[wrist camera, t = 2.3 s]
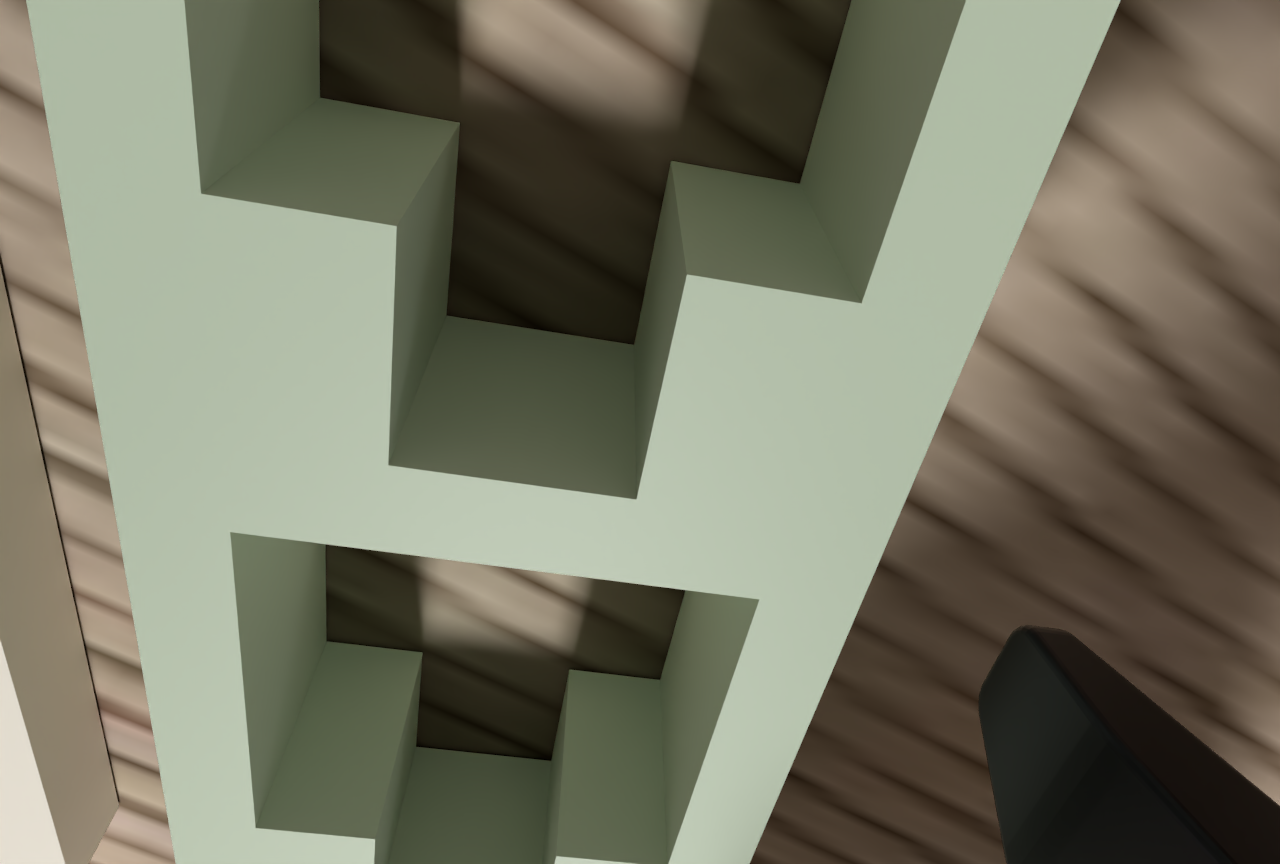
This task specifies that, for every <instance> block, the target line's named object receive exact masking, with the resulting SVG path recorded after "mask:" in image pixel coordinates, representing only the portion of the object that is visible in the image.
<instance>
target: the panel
mask: <svg viewBox="0 0 1280 864" xmlns="http://www.w3.org/2000/svg"><path fill="white" fill-rule="evenodd" d="M1120 1H1121V0H851V4H850V7H849V11H848V14H847V18H846V22H845V25H844V29H843V32H842V36H841V39H840V43H839V46H838V50H837V53H836V57H835V61H834V64H833V68H832V71H831V75H830V78H829V82H828V85H827V89H826V93H825V96H824V100H823V103H822V107H821V110H820V114H819V117H818V121H817V125H816V128H815V132H814V135H813V139H812V142H811V146H810V149H809V153H808V156H807V160H806V164H805V167H804V171H803V174H802V178H801V181H800V184H798V183H792V182H787V181H781V180H776V179H770V178H765V177H759V176H753V175H748V174H742V173H737V172H731V171H726V170H720V169H714V168H709V167H703V166H698V165H692V164H687V163H681V162H675V161H671V163H670V168H669V173H668V178H667V183H666V188H665V193H664V198H663V203H662V208H661V213H660V218H659V223H658V228H657V233H656V238H655V243H654V248H653V253H652V258H651V263H650V268H649V273H648V278H647V283H646V288H645V293H644V298H643V303H642V309H641V314H640V319H639V324H638V329H637V334H636V339H635V344H634V345H632V344H625V343H619V342H613V341H606V340H600V339H593V338H587V337H581V336H574V335H568V334H561V333H555V332H549V331H542V330H536V329H529V328H523V327H517V326H510V325H504V324H498V323H491V322H485V321H478V320H472V319H466V318H459V317H453V316H447V301H448V287H449V273H450V259H451V245H452V231H453V217H454V202H455V188H456V174H457V160H458V146H459V132H460V123H458V122H453V121H447V120H442V119H436V118H431V117H425V116H419V115H414V114H408V113H403V112H397V111H392V110H386V109H381V108H375V107H369V106H364V105H358V104H353V103H347V102H342V101H336V100H330V99H325V98H320V43H319V0H26V2H27V8H28V13H29V19H30V25H31V31H32V36H33V42H34V48H35V54H36V60H37V65H38V71H39V77H40V83H41V88H42V94H43V100H44V106H45V111H46V117H47V123H48V129H49V135H50V140H51V146H52V152H53V158H54V163H55V169H56V175H57V181H58V186H59V192H60V198H61V204H62V210H63V215H64V221H65V227H66V233H67V238H68V244H69V250H70V256H71V262H72V267H73V273H74V279H75V285H76V290H77V296H78V302H79V308H80V313H81V319H82V325H83V331H84V337H85V342H86V348H87V354H88V360H89V365H90V371H91V377H92V383H93V388H94V394H95V400H96V406H97V412H98V417H99V423H100V429H101V435H102V440H103V446H104V452H105V458H106V464H107V469H108V475H109V481H110V487H111V492H112V498H113V504H114V510H115V515H116V521H117V527H118V533H119V539H120V544H121V550H122V556H123V562H124V567H125V573H126V579H127V585H128V591H129V596H130V602H131V608H132V614H133V619H134V625H135V631H136V637H137V642H138V648H139V654H140V660H141V666H142V671H143V677H144V683H145V689H146V694H147V700H148V706H149V712H150V717H151V723H152V729H153V735H154V741H155V746H156V752H157V758H158V764H159V769H160V775H161V781H162V787H163V793H164V798H165V804H166V810H167V816H168V821H169V827H170V833H171V839H172V844H173V850H174V856H175V862H176V864H750V861H751V859H752V857H753V854H754V852H755V850H756V847H757V845H758V843H759V840H760V838H761V836H762V833H763V831H764V829H765V826H766V824H767V822H768V819H769V817H770V815H771V812H772V810H773V808H774V805H775V803H776V801H777V798H778V796H779V794H780V791H781V789H782V787H783V785H784V782H785V780H786V778H787V775H788V773H789V771H790V768H791V766H792V764H793V761H794V759H795V757H796V754H797V752H798V750H799V747H800V745H801V743H802V740H803V738H804V736H805V733H806V731H807V729H808V726H809V724H810V722H811V719H812V717H813V715H814V712H815V710H816V708H817V705H818V703H819V701H820V698H821V696H822V694H823V691H824V689H825V687H826V684H827V682H828V680H829V678H830V675H831V673H832V671H833V668H834V666H835V664H836V661H837V659H838V657H839V654H840V652H841V650H842V647H843V645H844V643H845V640H846V638H847V636H848V633H849V631H850V629H851V626H852V624H853V622H854V619H855V617H856V615H857V612H858V610H859V608H860V605H861V603H862V601H863V598H864V596H865V594H866V591H867V589H868V587H869V584H870V582H871V580H872V577H873V575H874V573H875V571H876V568H877V566H878V564H879V561H880V559H881V557H882V554H883V552H884V550H885V547H886V545H887V543H888V540H889V538H890V536H891V533H892V531H893V529H894V526H895V524H896V522H897V519H898V517H899V515H900V512H901V510H902V508H903V505H904V503H905V501H906V498H907V496H908V494H909V491H910V489H911V487H912V484H913V482H914V480H915V477H916V475H917V473H918V470H919V468H920V466H921V464H922V461H923V459H924V457H925V454H926V452H927V450H928V447H929V445H930V443H931V440H932V438H933V436H934V433H935V431H936V429H937V426H938V424H939V422H940V419H941V417H942V415H943V412H944V410H945V408H946V405H947V403H948V401H949V398H950V396H951V394H952V391H953V389H954V387H955V384H956V382H957V380H958V377H959V375H960V373H961V370H962V368H963V366H964V363H965V361H966V359H967V357H968V354H969V352H970V350H971V347H972V345H973V343H974V340H975V338H976V336H977V333H978V331H979V329H980V326H981V324H982V322H983V319H984V317H985V315H986V312H987V310H988V308H989V305H990V303H991V301H992V298H993V296H994V294H995V291H996V289H997V287H998V284H999V282H1000V280H1001V277H1002V275H1003V273H1004V270H1005V268H1006V266H1007V263H1008V261H1009V259H1010V256H1011V254H1012V252H1013V250H1014V247H1015V245H1016V243H1017V240H1018V238H1019V236H1020V233H1021V231H1022V229H1023V226H1024V224H1025V222H1026V219H1027V217H1028V215H1029V212H1030V210H1031V208H1032V205H1033V203H1034V201H1035V198H1036V196H1037V194H1038V191H1039V189H1040V187H1041V184H1042V182H1043V180H1044V177H1045V175H1046V173H1047V170H1048V168H1049V166H1050V163H1051V161H1052V159H1053V156H1054V154H1055V152H1056V149H1057V147H1058V145H1059V143H1060V140H1061V138H1062V136H1063V133H1064V131H1065V129H1066V126H1067V124H1068V122H1069V119H1070V117H1071V115H1072V112H1073V110H1074V108H1075V105H1076V103H1077V101H1078V98H1079V96H1080V94H1081V91H1082V89H1083V87H1084V84H1085V82H1086V80H1087V77H1088V75H1089V73H1090V70H1091V68H1092V66H1093V63H1094V61H1095V59H1096V56H1097V54H1098V52H1099V49H1100V47H1101V45H1102V42H1103V40H1104V38H1105V36H1106V33H1107V31H1108V29H1109V26H1110V24H1111V22H1112V19H1113V17H1114V15H1115V12H1116V10H1117V8H1118V5H1119V3H1120ZM325 544H328V545H336V546H343V547H351V548H359V549H367V550H375V551H383V552H391V553H398V554H406V555H414V556H422V557H430V558H438V559H445V560H453V561H461V562H469V563H477V564H485V565H493V566H500V567H508V568H516V569H524V570H532V571H540V572H548V573H555V574H563V575H571V576H579V577H587V578H595V579H602V580H610V581H618V582H626V583H634V584H642V585H650V586H657V587H665V588H673V589H681V590H685V593H684V597H683V600H682V604H681V608H680V611H679V615H678V618H677V622H676V625H675V629H674V632H673V636H672V640H671V643H670V647H669V650H668V654H667V657H666V661H665V664H664V668H663V671H662V675H661V679H660V680H656V679H647V678H638V677H630V676H621V675H612V674H604V673H595V672H587V671H578V670H569V674H568V679H567V684H566V689H565V694H564V699H563V704H562V709H561V714H560V719H559V724H558V729H557V734H556V739H555V744H554V749H553V754H552V759H551V761H547V760H537V759H528V758H518V757H509V756H499V755H490V754H480V753H471V752H461V751H452V750H442V749H432V748H423V747H416V740H417V726H418V712H419V698H420V684H421V670H422V655H423V652H414V651H406V650H397V649H388V648H380V647H371V646H363V645H354V644H345V643H337V642H328V641H327V630H326V546H325Z"/></svg>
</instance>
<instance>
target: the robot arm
mask: <svg viewBox="0 0 1280 864" xmlns="http://www.w3.org/2000/svg"><path fill="white" fill-rule="evenodd" d="M979 717H980V723H981V728H982V734H983V739H984V744H985V750H986V755H987V761H988V766H989V772H990V777H991V783H992V788H993V794H994V799H995V805H996V810H997V816H998V821H999V827H1000V832H1001V838H1002V843H1003V849H1004V854H1005V858H1006V863H1007V864H1280V806H1279V805H1278V804H1277V803H1276V802H1274V801H1273V800H1272V799H1271V798H1270V797H1268V796H1267V795H1266V794H1265V793H1263V792H1262V791H1261V790H1260V789H1259V788H1257V787H1256V786H1255V785H1254V784H1253V783H1251V782H1250V781H1249V780H1248V779H1247V778H1245V777H1244V776H1243V775H1242V774H1240V773H1239V772H1238V771H1237V770H1236V769H1234V768H1233V767H1232V766H1231V765H1230V764H1228V763H1227V762H1226V761H1225V760H1223V759H1222V758H1221V757H1220V756H1219V755H1217V754H1216V753H1215V752H1214V751H1213V750H1211V749H1210V748H1209V747H1208V746H1207V745H1205V744H1204V743H1203V742H1202V741H1200V740H1199V739H1198V738H1197V737H1196V736H1194V735H1193V734H1192V733H1191V732H1190V731H1188V730H1187V729H1186V728H1185V727H1184V726H1182V725H1181V724H1180V723H1179V722H1177V721H1176V720H1175V719H1174V718H1173V717H1171V716H1170V715H1169V714H1168V713H1167V712H1165V711H1164V710H1163V709H1162V708H1160V707H1159V706H1158V705H1157V704H1156V703H1154V702H1153V701H1152V700H1151V699H1150V698H1148V697H1147V696H1146V695H1145V694H1144V693H1142V692H1141V691H1140V690H1139V689H1137V688H1136V687H1135V686H1134V685H1133V684H1131V683H1130V682H1129V681H1128V680H1127V679H1125V678H1124V677H1123V676H1122V675H1120V674H1119V673H1118V672H1117V671H1116V670H1114V669H1113V668H1112V667H1111V666H1110V665H1108V664H1107V663H1106V662H1105V661H1104V660H1102V659H1101V658H1100V657H1099V656H1097V655H1096V654H1095V653H1094V652H1093V651H1091V650H1090V649H1089V648H1088V647H1087V646H1085V645H1084V644H1083V643H1082V642H1081V641H1079V640H1078V639H1077V638H1076V637H1074V636H1073V635H1072V634H1070V633H1069V632H1066V631H1064V630H1060V629H1054V628H1046V627H1039V626H1031V625H1025V626H1020V627H1019V628H1017V629H1016V630H1014V631H1013V632H1012V634H1011V635H1010V637H1009V638H1008V640H1007V642H1006V644H1005V645H1004V647H1003V649H1002V651H1001V652H1000V654H999V656H998V658H997V660H996V661H995V663H994V665H993V667H992V668H991V670H990V672H989V674H988V675H987V677H986V679H985V681H984V683H983V685H982V687H981V691H980V694H979Z"/></svg>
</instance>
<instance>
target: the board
mask: <svg viewBox="0 0 1280 864" xmlns="http://www.w3.org/2000/svg"><path fill="white" fill-rule="evenodd" d="M118 807H119V804H118V799H117V795H116V790H115V785H114V781H113V776H112V772H111V767H110V763H109V758H108V754H107V749H106V744H105V740H104V735H103V731H102V726H101V722H100V717H99V713H98V708H97V703H96V699H95V694H94V690H93V685H92V681H91V676H90V672H89V667H88V662H87V658H86V653H85V649H84V644H83V640H82V635H81V631H80V626H79V622H78V617H77V612H76V608H75V603H74V599H73V594H72V590H71V585H70V581H69V576H68V571H67V567H66V562H65V558H64V553H63V549H62V544H61V540H60V535H59V530H58V526H57V521H56V517H55V512H54V508H53V503H52V499H51V494H50V490H49V485H48V480H47V476H46V471H45V467H44V462H43V458H42V453H41V449H40V444H39V439H38V435H37V430H36V426H35V421H34V417H33V412H32V408H31V403H30V398H29V394H28V389H27V385H26V380H25V376H24V371H23V367H22V362H21V357H20V353H19V348H18V344H17V339H16V335H15V330H14V326H13V321H12V317H11V312H10V307H9V303H8V298H7V294H6V289H5V285H4V280H3V276H2V271H1V266H0V864H89V862H90V860H91V858H92V856H93V854H94V853H95V851H96V849H97V847H98V845H99V843H100V841H101V839H102V837H103V836H104V834H105V832H106V830H107V828H108V826H109V824H110V822H111V821H112V819H113V817H114V815H115V813H116V811H117V809H118Z"/></svg>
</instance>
